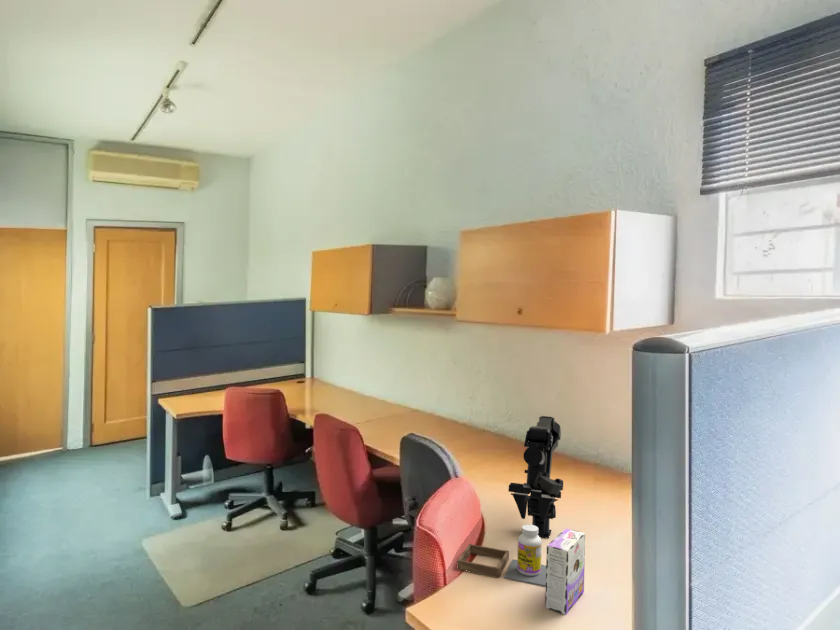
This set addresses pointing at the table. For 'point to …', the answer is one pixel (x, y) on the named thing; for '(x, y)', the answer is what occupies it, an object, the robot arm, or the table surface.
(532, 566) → the supplement bottle
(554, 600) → the candy box
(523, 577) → the mat
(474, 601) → the table surface
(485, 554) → the square frame
